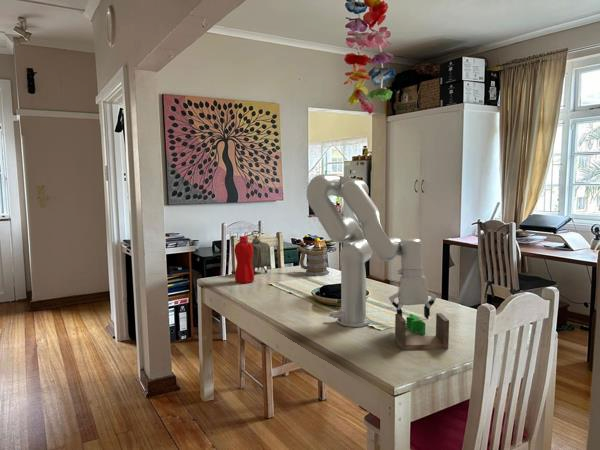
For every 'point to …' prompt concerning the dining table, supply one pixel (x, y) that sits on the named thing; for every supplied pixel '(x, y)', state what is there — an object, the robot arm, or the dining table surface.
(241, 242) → the water bottle
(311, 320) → the dining table surface
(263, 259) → the grey bag
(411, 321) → the pipe clamp
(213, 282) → the dining table surface
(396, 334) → the bracket
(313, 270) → the tankard
